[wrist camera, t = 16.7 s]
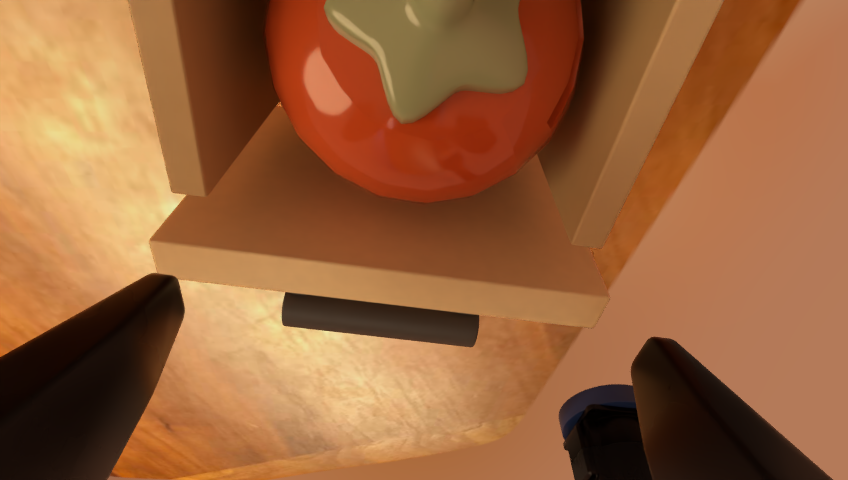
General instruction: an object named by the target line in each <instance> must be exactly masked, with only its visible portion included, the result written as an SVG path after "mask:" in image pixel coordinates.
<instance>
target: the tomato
mask: <svg viewBox="0 0 848 480" xmlns="http://www.w3.org/2000/svg"><path fill="white" fill-rule="evenodd" d="M263 39H264V44H265V49H266V54H267V60H268V65H269V70H270V75H271V80H272V85H273V89H274V91H275V93H276V95H277V97H278V99H279V101H280V102H281V104H282V106H283V108H284V110H285V112H286V114H287V116H288V118H289V120H290V122H291V123H292V125H293V127H294V129H295V131H296V133H297V135H298V137H299V139H300V140H301V141H302V142H303V143H304V144H305V145H306V146H307V147H308V148H309V149H310V150H311V151H312V152H313V153H314V154H315V155H316V156H317V157H318V158H319V159H320V160H321V161H322V162H323V163H324V164H325V165H326V166H327V167H328V168H329V169H330V170H331V171H332V172H333V173H334V174H335V175H336V176H338V177H340V178H342V179H344V180H346V181H348V182H350V183H352V184H354V185H356V186H358V187H359V188H361V189H363V190H365V191H367V192H369V193H371V194H373V195H375V196H377V197H380V198H387V199H393V200H399V201H405V202H411V203H417V204H431V203H437V202H444V201H451V200H458V199H464V198H470V197H472V196H474V195H476V194H478V193H479V192H481V191H483V190H485V189H487V188H489V187H491V186H493V185H495V184H497V183H499V182H501V181H503V180H505V179H507V178H509V177H511V176H513V175H515V174H517V173H518V172H519V171H520V170H521V169H522V168H523V167H524V166H525V165H526V164H527V163H528V162H529V161H530V160H531V159H532V158H533V157H534V156H535V155H536V154H537V153H538V152H539V151H540V150H541V149H542V148H543V147H544V146H545V145H546V144H547V143H549V142H550V141H551V139H552V137H553V135H554V134H555V132H556V130H557V128H558V126H559V124H560V122H561V121H562V119H563V117H564V115H565V113H566V111H567V109H568V108H569V106H570V104H571V102H572V100H573V98H574V96H575V92H576V87H577V82H578V78H579V73H580V68H581V63H582V59H583V54H584V49H585V40H584V28H583V17H582V5H581V0H267V2H266V10H265V18H264V26H263Z"/></svg>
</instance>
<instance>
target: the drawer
mask: <svg viewBox="0 0 848 480" xmlns="http://www.w3.org/2000/svg"><path fill="white" fill-rule="evenodd" d="M266 2H267V0H128V3H129V8H130V12H131V17H132V21H133V25H134V30H135V34H136V38H137V43H138V47H139V52H140V56H141V60H142V65H143V69H144V73H145V78H146V82H147V87H148V91H149V95H150V100H151V104H152V109H153V113H154V117H155V122H156V126H157V130H158V135H159V139H160V144H161V148H162V152H163V157H164V161H165V165H166V170H167V174H168V179H169V183H170V187H171V191H172V192H173V193H179V194H186V196H185V198H184V199H183V200H182V201H181V202H180V204H179V205H178V206H177V207H176V208H175V210H174V211H173V212H172V213H171V214H170V216H169V217H168V218H167V219H166V220H165V222H164V223H163V224H162V225H161V226H160V228H159V229H158V230H157V231H156V232H155V234H154V235H153V236H152V237H151V238H150V240H149V244H150V248H151V251H152V255H153V258H154V262H155V265H156V269H157V272H158V274H166V275H173V276H175V277H176V278H177V279H181V280H189V281H198V282H206V283H215V284H223V285H231V286H240V287H248V288H257V289H265V290H273V291H282V292H285V296H284V300H283V306H282V323H283V325H284V326H289V327H298V328H307V329H316V330H324V331H333V332H342V333H351V334H360V335H368V336H377V337H386V338H395V339H403V340H412V341H421V342H430V343H438V344H447V345H456V346H465V347H473V346H474V345H475V342H476V339H477V335H478V328H479V315H483V316H492V317H500V318H508V319H517V320H525V321H534V322H542V323H550V324H559V325H567V326H576V327H584V328H594V327H595V325H596V324H597V322H598V320H599V318H600V317H601V315H602V313H603V311H604V309H605V308H606V306H607V304H608V302H609V300H610V296H609V293H608V291H607V288H606V286H605V284H604V281H603V279H602V277H601V274H600V272H599V270H598V267H597V265H596V263H595V260H594V258H593V256H592V253H591V251H590V248H589V247H592V248H599V249H600V248H602V247H603V245H604V243H605V241H606V239H607V237H608V235H609V233H610V231H611V229H612V227H613V225H614V223H615V221H616V219H617V217H618V215H619V213H620V211H621V209H622V207H623V205H624V203H625V201H626V199H627V197H628V195H629V193H630V191H631V189H632V186H633V184H634V182H635V180H636V178H637V176H638V174H639V172H640V170H641V168H642V166H643V164H644V162H645V160H646V158H647V156H648V154H649V152H650V150H651V148H652V146H653V144H654V142H655V140H656V138H657V136H658V134H659V132H660V130H661V128H662V126H663V123H664V121H665V119H666V117H667V115H668V113H669V111H670V109H671V107H672V105H673V103H674V101H675V99H676V97H677V95H678V93H679V91H680V89H681V87H682V85H683V83H684V81H685V79H686V77H687V75H688V73H689V71H690V69H691V67H692V65H693V63H694V60H695V58H696V56H697V54H698V52H699V50H700V48H701V46H702V44H703V42H704V40H705V38H706V36H707V34H708V32H709V30H710V28H711V26H712V24H713V22H714V20H715V18H716V16H717V14H718V12H719V10H720V8H721V6H722V4H723V2H724V0H581V5H582V17H583V28H584V40H585V49H584V54H583V59H582V63H581V68H580V73H579V78H578V82H577V87H576V92H575V96H574V98H573V100H572V102H571V104H570V106H569V108H568V109H567V111H566V113H565V115H564V117H563V119H562V121H561V122H560V124H559V126H558V128H557V130H556V132H555V134H554V135H553V137H552V139H551V141H550V142H549V143H547V144H546V145H545V146H544V147H543V148H542V149H541V150H540V151H539V152H538V153H537V154H536V155H535V156H534V157H533V158H532V159H531V160H530V161H529V162H528V163H527V164H526V165H525V166H524V167H523V168H522V169H521V170H520V171H519V172H518V173H517V174H515V175H513V176H511V177H509V178H507V179H505V180H503V181H501V182H499V183H497V184H495V185H493V186H491V187H489V188H487V189H485V190H483V191H481V192H479V193H478V194H476V195H474V196H472V197H470V198H464V199H458V200H451V201H444V202H437V203H431V204H417V203H411V202H405V201H399V200H393V199H387V198H380V197H377V196H375V195H373V194H371V193H369V192H367V191H365V190H363V189H361V188H359V187H358V186H356V185H354V184H352V183H350V182H348V181H346V180H344V179H342V178H340V177H338V176H336V175H335V174H334V173H333V172H332V171H331V170H330V169H329V168H328V167H327V166H326V165H325V164H324V163H323V162H322V161H321V160H320V159H319V158H318V157H317V156H316V155H315V154H314V153H313V152H312V151H311V150H310V149H309V148H308V147H307V146H306V145H305V144H304V143H303V142H302V141H301V140H300V139H299V137H298V135H297V133H296V131H295V129H294V127H293V125H292V123H291V122H290V120H289V118H288V116H287V114H286V112H285V110H284V108H283V107H281V106H276V105H277V104H278V103H279V99H278V97H277V95H276V93H275V91H274V89H273V85H272V80H271V75H270V70H269V65H268V60H267V54H266V49H265V44H264V39H263V26H264V18H265V10H266Z"/></svg>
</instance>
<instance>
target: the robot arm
mask: <svg viewBox="0 0 848 480" xmlns="http://www.w3.org/2000/svg"><path fill="white" fill-rule="evenodd" d="M184 313H185V307H184V302H183V298H182V294H181V290H180V285H179V282H178V279H177V278H176V277H175V276H173V275H166V274H158V273H152V274H149V275H147V276H145V277H143V278H141V279H139V280H138V281H136V282H134V283H132V284H130V285H129V286H127V287H125V288H123V289H121V290H120V291H118V292H116V293H114V294H113V295H111V296H109V297H107V298H105V299H104V300H102V301H100V302H98V303H96V304H95V305H93V306H91V307H89V308H87V309H86V310H84V311H82V312H80V313H79V314H77V315H75V316H73V317H71V318H70V319H68V320H66V321H64V322H62V323H61V324H59V325H57V326H55V327H54V328H52V329H50V330H48V331H46V332H45V333H43V334H41V335H39V336H37V337H36V338H34V339H32V340H30V341H28V342H27V343H25V344H23V345H21V346H20V347H18V348H16V349H14V350H12V351H11V352H9V353H7V354H5V355H3V356H2V357H0V480H107V479H108V477H109V476H110V474H111V472H112V470H113V468H114V466H115V464H116V462H117V461H118V459H119V457H120V455H121V453H122V451H123V449H124V448H125V446H126V444H127V442H128V440H129V438H130V436H131V435H132V433H133V431H134V429H135V427H136V425H137V423H138V422H139V420H140V418H141V416H142V414H143V412H144V410H145V408H146V407H147V405H148V403H149V401H150V399H151V397H152V395H153V392H154V390H155V388H156V386H157V383H158V381H159V378H160V376H161V373H162V371H163V368H164V366H165V363H166V361H167V358H168V356H169V353H170V351H171V348H172V346H173V343H174V341H175V338H176V336H177V333H178V331H179V328H180V326H181V323H182V321H183V318H184ZM631 377H632V383H633V389H634V395H635V401H636V406H637V409H636V408H626V407H617V406H608V405H599V404H591V405H588V406H587V407H586V408H585V410H584V411H583V413H582V415H581V416H580V418H579V419H578V421H577V422H576V424H575V426H574V427H573V429H572V430H571V432H570V433H569V435H568V436H567V438H566V440H565V441H564V443H563V446H564V449H565V450H566V451H568V452H569V457H570V461H571V465H572V470H573V474H574V478H575V480H833V479H832V478H830V477H829V476H828V475H827V474H826V473H825V472H824V471H823V470H821V469H820V468H819V467H818V466H817V465H816V464H815V463H813V462H812V461H811V460H810V459H809V458H808V457H806V456H805V455H804V454H803V453H802V452H801V451H800V450H799V449H797V448H796V447H795V446H794V445H793V444H792V443H791V442H790V441H788V440H787V439H786V438H785V437H784V436H783V435H782V434H780V433H779V432H778V431H777V430H776V429H775V428H774V427H773V426H771V425H770V424H769V423H768V422H767V421H766V420H765V419H763V418H762V417H761V416H760V415H759V414H758V413H757V412H755V411H754V410H753V409H752V408H751V407H750V406H749V405H747V404H746V403H745V402H744V401H743V400H742V399H741V398H740V397H738V396H737V395H736V394H735V393H734V392H733V391H731V390H730V389H729V388H728V387H727V386H726V385H725V384H724V383H722V382H721V381H720V380H719V379H718V378H717V377H716V376H715V375H713V374H712V373H711V372H710V371H709V370H708V369H706V367H704V366H703V365H702V364H701V363H700V362H699V361H698V360H696V359H695V358H694V357H693V356H692V355H691V354H689V353H688V352H687V351H686V350H685V349H684V348H683V347H681V346H680V345H679V344H678V343H677V342H676V341H674V340H672V339H667V338H660V337H651V338H650V339H648V340H647V341H646V343H645V344H644V346H643V347H642V349H641V350H640V352H639V353H638V355H637V356H636V358H635V359H634V361H633V363H632V366H631Z"/></svg>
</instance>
